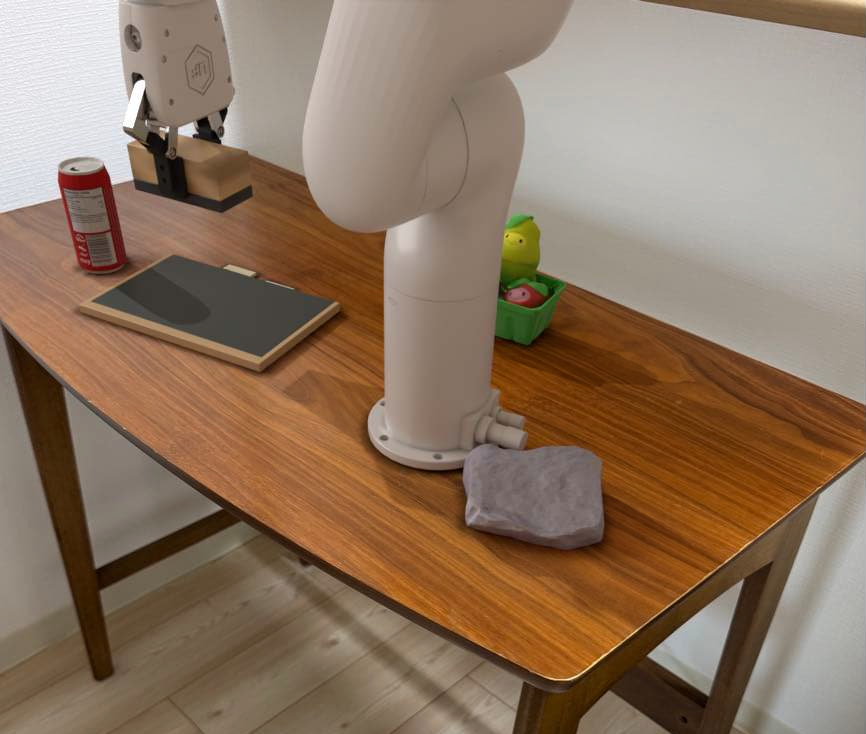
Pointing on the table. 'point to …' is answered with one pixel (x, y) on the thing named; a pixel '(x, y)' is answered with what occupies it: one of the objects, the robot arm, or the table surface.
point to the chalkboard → (212, 310)
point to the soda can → (92, 214)
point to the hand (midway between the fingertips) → (193, 184)
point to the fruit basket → (524, 284)
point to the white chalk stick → (280, 285)
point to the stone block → (536, 494)
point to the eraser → (199, 173)
